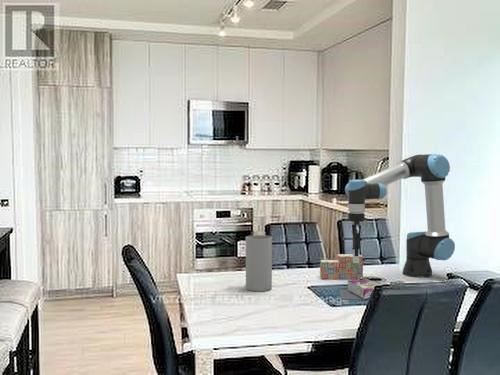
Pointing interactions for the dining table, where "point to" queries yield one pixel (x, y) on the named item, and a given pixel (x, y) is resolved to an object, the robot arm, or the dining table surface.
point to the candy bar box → (361, 287)
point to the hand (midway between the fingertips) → (356, 262)
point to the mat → (349, 295)
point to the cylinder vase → (258, 263)
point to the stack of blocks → (341, 268)
